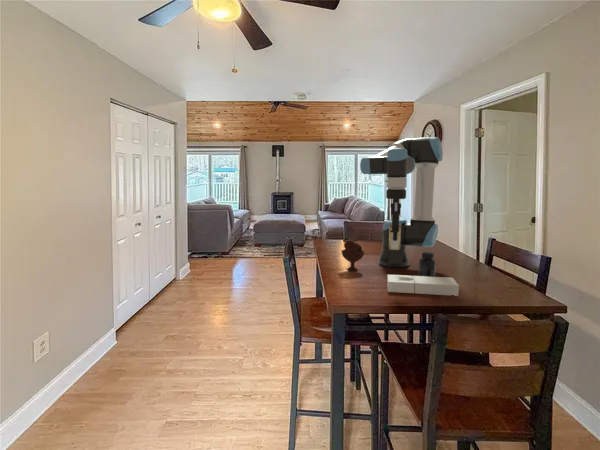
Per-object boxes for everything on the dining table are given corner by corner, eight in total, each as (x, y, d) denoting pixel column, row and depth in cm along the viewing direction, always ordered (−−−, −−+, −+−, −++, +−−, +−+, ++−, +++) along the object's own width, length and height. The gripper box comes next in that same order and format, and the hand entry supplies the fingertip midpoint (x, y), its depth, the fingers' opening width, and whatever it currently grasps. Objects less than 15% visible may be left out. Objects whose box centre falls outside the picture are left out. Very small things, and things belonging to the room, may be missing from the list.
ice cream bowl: (354, 274, 176) (354, 242, 174) (336, 269, 184) (336, 239, 182) (368, 270, 183) (369, 239, 181) (350, 266, 191) (351, 237, 189)
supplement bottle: (436, 282, 161) (437, 254, 160) (419, 281, 162) (420, 254, 161) (433, 278, 168) (434, 251, 166) (417, 277, 169) (418, 251, 168)
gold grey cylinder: (388, 247, 154) (388, 223, 152) (400, 248, 152) (401, 223, 151) (388, 249, 149) (388, 224, 148) (400, 250, 148) (401, 224, 147)
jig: (387, 283, 159) (387, 274, 158) (452, 287, 153) (452, 277, 153) (387, 291, 147) (388, 281, 147) (458, 295, 142) (458, 285, 141)
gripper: (386, 188, 157) (385, 243, 160) (386, 189, 140) (384, 250, 143) (405, 188, 156) (403, 244, 158) (407, 189, 139) (405, 251, 141)
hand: (394, 247), depth 151 cm, fingers closed on gold grey cylinder, 4 cm apart
